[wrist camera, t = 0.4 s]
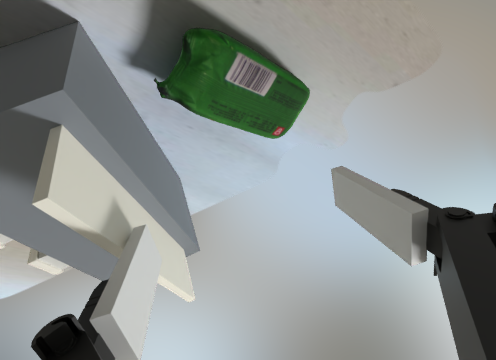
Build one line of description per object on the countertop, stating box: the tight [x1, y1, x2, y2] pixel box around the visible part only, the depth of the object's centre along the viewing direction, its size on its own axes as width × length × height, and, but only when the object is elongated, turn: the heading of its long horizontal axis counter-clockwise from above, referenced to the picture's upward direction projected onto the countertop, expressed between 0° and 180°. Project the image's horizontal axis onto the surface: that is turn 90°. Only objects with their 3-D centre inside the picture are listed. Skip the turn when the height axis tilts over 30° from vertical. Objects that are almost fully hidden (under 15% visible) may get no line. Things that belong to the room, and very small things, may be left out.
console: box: [0, 21, 200, 281], centre depth 22 cm, size 19×9×11 cm, turn 11°
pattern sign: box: [32, 125, 195, 302], centre depth 17 cm, size 16×1×5 cm, turn 11°
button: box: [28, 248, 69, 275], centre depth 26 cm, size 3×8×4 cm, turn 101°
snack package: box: [154, 28, 310, 139], centre depth 25 cm, size 7×16×5 cm, turn 57°
